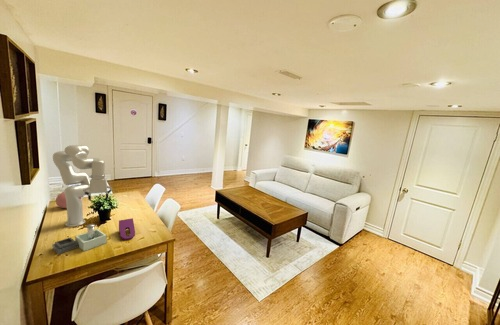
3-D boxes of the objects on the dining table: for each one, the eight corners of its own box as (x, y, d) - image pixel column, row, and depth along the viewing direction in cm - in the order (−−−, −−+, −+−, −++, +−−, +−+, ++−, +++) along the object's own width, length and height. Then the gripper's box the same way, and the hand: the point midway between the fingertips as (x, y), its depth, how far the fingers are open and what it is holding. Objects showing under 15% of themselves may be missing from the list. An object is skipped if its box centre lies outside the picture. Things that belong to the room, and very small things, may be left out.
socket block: (52, 248, 132) (52, 242, 131) (72, 242, 140) (71, 236, 139) (58, 254, 126) (57, 247, 126) (78, 247, 135) (77, 241, 134)
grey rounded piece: (86, 245, 137) (85, 227, 135) (87, 241, 141) (86, 224, 139) (95, 243, 140) (95, 226, 138) (95, 240, 144) (95, 223, 142)
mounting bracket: (135, 243, 155) (132, 225, 167) (135, 236, 151) (133, 218, 163) (120, 246, 149) (118, 227, 161) (121, 239, 145) (119, 220, 157)
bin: (75, 244, 138) (75, 236, 137) (97, 236, 149) (97, 229, 149) (83, 251, 132) (83, 242, 131) (106, 242, 143) (106, 234, 142)
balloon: (83, 208, 194) (83, 192, 192) (54, 211, 182) (53, 195, 180) (84, 203, 206) (83, 188, 204) (57, 206, 194) (56, 190, 192)
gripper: (82, 179, 138) (82, 203, 140) (113, 177, 148) (113, 200, 151) (82, 176, 143) (83, 199, 146) (112, 175, 154) (112, 196, 157)
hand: (98, 199), depth 148 cm, fingers open, 9 cm apart
